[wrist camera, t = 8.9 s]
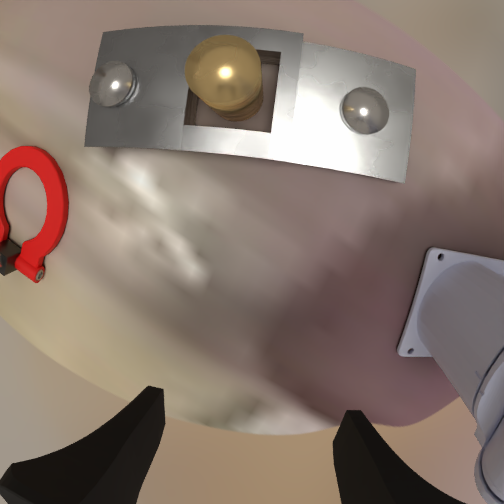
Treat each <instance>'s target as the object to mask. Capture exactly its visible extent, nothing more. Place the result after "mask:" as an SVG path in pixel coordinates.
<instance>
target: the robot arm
mask: <svg viewBox="0 0 504 504" xmlns="http://www.w3.org/2000/svg"><path fill="white" fill-rule="evenodd" d="M439 254H441V258H440V259H438V255H439ZM410 348H412V349H411V350H410V351H408V350H409V349H410ZM397 352H398V354H399V355H400V356H402V357H433V358H434V360H435V361H436V362H437V364H438V365H439V367H440V368H441V369H442V371H443V372H444V374H445V375H446V377H447V378H448V379H449V381H450V382H451V384H452V385H453V387H454V388H455V390H456V391H457V393H458V394H459V396H460V397H461V398H462V400H463V402H464V403H465V405H466V406H467V408H468V409H469V410H470V412H471V414H472V415H473V417H474V418H475V420H476V422H477V429H476V432H475V434H474V435H475V436H476V438H477V440H478V441H479V443H480V445H481V446H482V449H481V451H480V452H479V454H478V457H477V459H476V463H475V470H474V476H475V482H476V485H477V488H478V491H479V493H480V494H481V496H482V497H483V499H484V500H485V501H486V502H487V503H488V504H504V260H500V259H494V258H489V257H484V256H479V255H474V254H468V253H463V252H458V251H452V250H447V249H441V248H436V247H432V248H430V249H429V250H428V251H427V254H426V257H425V261H424V265H423V269H422V273H421V276H420V280H419V284H418V287H417V291H416V294H415V297H414V301H413V304H412V307H411V310H410V313H409V316H408V319H407V322H406V325H405V328H404V331H403V334H402V337H401V340H400V343H399V345H398V348H397ZM164 426H165V409H164V390H163V389H161V388H157V387H152V386H148V387H146V388H145V389H144V390H143V391H142V392H141V393H140V394H139V395H138V396H137V397H136V398H135V399H134V400H133V401H131V402H130V403H129V404H128V405H127V406H126V407H125V408H124V409H122V410H121V411H120V412H119V413H118V414H117V415H115V416H114V417H113V418H112V419H110V420H109V421H108V422H106V423H105V424H104V425H102V426H101V427H100V428H98V429H97V430H95V431H94V432H92V433H91V434H89V435H88V436H86V437H84V438H83V439H81V440H79V441H77V442H75V443H73V444H71V445H69V446H67V447H65V448H63V449H60V450H58V451H55V452H52V453H50V454H47V455H44V456H41V457H38V458H35V459H31V460H26V461H22V462H17V463H12V464H11V466H10V467H9V468H8V469H7V471H6V472H5V473H4V475H3V477H2V478H1V479H0V495H1V496H2V497H3V498H4V499H5V501H6V502H7V503H8V504H136V502H137V498H138V495H139V492H140V489H141V487H142V484H143V482H144V479H145V477H146V474H147V472H148V470H149V468H150V465H151V463H152V461H153V458H154V456H155V454H156V451H157V449H158V447H159V444H160V441H161V437H162V434H163V430H164ZM333 457H334V467H335V472H336V477H337V482H338V487H339V493H340V498H341V503H342V504H466V503H463V502H461V501H459V500H456V499H454V498H453V497H451V496H449V495H447V494H445V493H444V492H442V491H440V490H438V489H437V488H435V487H434V486H432V485H431V484H429V483H428V482H427V481H425V480H424V479H423V478H422V477H420V476H419V475H418V474H417V473H416V472H414V471H413V470H412V469H411V468H410V467H409V466H408V465H406V464H405V463H404V462H403V461H402V460H401V458H399V456H398V455H397V454H395V452H394V451H393V450H392V449H391V448H390V447H389V445H388V444H387V443H386V442H385V441H384V440H383V438H382V437H381V436H380V435H379V433H378V432H377V431H376V429H375V428H374V427H373V426H372V424H371V423H370V422H369V420H368V419H367V418H366V416H365V415H364V414H363V413H362V411H361V410H347V411H346V413H345V415H344V418H343V420H342V422H341V425H340V427H339V429H338V432H337V434H336V436H335V439H334V440H333Z"/></svg>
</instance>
